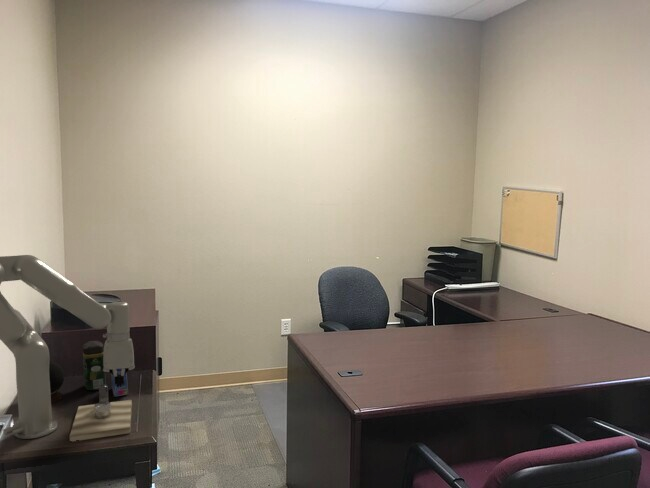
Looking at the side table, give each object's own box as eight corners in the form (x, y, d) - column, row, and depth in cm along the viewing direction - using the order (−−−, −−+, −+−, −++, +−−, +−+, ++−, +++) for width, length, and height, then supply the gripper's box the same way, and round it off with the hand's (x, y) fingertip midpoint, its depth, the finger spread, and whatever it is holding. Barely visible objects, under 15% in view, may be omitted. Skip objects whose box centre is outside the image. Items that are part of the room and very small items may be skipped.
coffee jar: (83, 384, 213) (81, 340, 211) (104, 381, 217) (102, 338, 215) (85, 392, 205) (83, 347, 203) (107, 388, 208) (104, 344, 207)
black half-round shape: (22, 399, 198) (20, 361, 197) (60, 390, 207) (57, 354, 206) (31, 409, 189) (28, 370, 187) (69, 400, 197) (67, 362, 196)
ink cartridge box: (110, 388, 209) (109, 353, 207) (125, 386, 211) (124, 351, 210) (113, 397, 200) (111, 361, 198) (128, 394, 202) (126, 358, 201)
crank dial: (110, 417, 177) (109, 397, 176) (94, 419, 175) (93, 399, 174) (111, 402, 189) (110, 383, 188) (96, 404, 187) (95, 385, 186)
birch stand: (130, 433, 170) (130, 426, 170) (69, 441, 164) (69, 435, 164) (131, 404, 193) (131, 399, 192) (78, 411, 187) (78, 405, 187)
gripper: (95, 340, 180) (96, 391, 182) (140, 337, 185) (141, 387, 186) (96, 335, 187) (97, 384, 189) (140, 332, 192) (141, 380, 194)
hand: (119, 385), depth 188 cm, fingers closed
